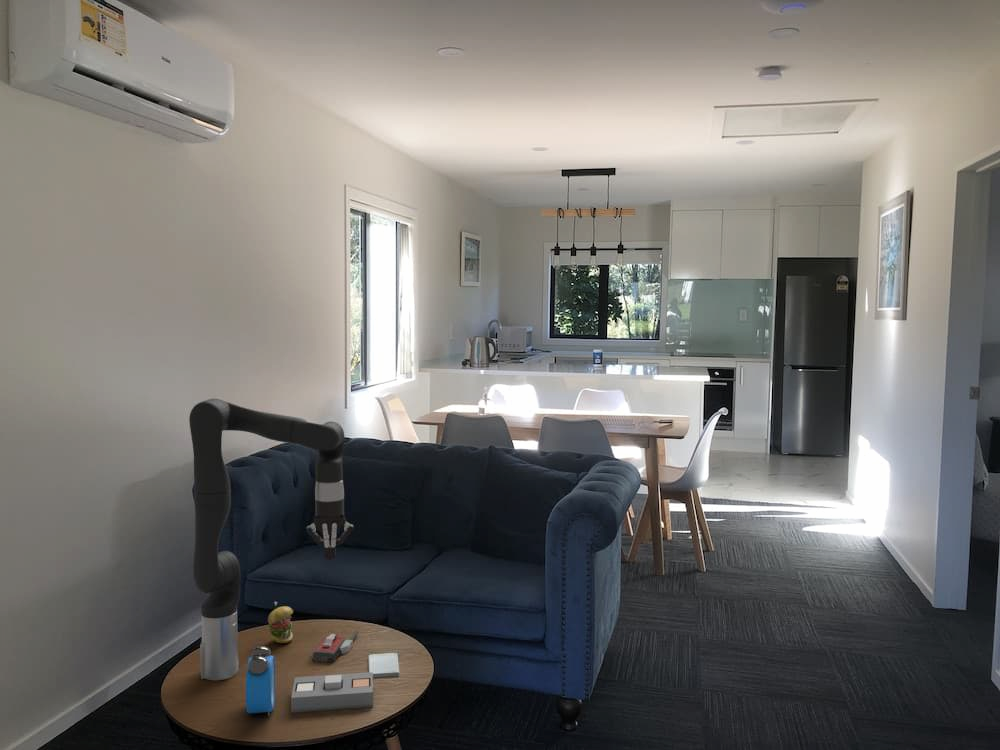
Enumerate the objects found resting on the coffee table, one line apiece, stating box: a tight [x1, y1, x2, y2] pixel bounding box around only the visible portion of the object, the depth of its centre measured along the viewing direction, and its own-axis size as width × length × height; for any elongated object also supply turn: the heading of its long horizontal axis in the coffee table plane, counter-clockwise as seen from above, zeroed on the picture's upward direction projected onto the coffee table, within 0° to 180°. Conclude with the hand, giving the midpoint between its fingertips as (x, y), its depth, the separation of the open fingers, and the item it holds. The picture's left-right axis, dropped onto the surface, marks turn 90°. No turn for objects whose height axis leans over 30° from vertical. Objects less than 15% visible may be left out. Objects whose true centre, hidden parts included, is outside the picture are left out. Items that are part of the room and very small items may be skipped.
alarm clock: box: [245, 644, 276, 717], centre depth 199 cm, size 13×6×15 cm, turn 11°
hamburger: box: [267, 601, 294, 644], centre depth 240 cm, size 8×7×12 cm
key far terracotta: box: [353, 679, 369, 688], centre depth 206 cm, size 4×4×3 cm
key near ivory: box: [296, 683, 314, 692], centre depth 204 cm, size 4×4×3 cm
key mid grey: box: [325, 674, 342, 690], centre depth 205 cm, size 4×4×3 cm
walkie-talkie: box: [312, 630, 359, 663], centre depth 235 cm, size 9×4×20 cm
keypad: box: [290, 671, 374, 713], centre depth 205 cm, size 20×11×4 cm, turn 99°
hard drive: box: [368, 652, 400, 679], centre depth 224 cm, size 2×8×12 cm
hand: (330, 559), depth 216 cm, fingers closed
